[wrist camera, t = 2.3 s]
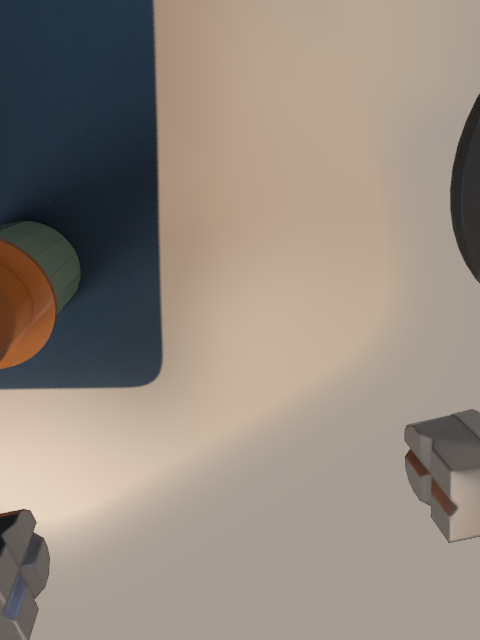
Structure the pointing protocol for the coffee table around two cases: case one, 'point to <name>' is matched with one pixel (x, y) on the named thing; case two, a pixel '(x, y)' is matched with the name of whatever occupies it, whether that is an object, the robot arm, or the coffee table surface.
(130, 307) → the coffee table surface
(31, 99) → the coffee table surface
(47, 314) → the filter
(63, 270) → the cup
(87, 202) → the coffee table surface
